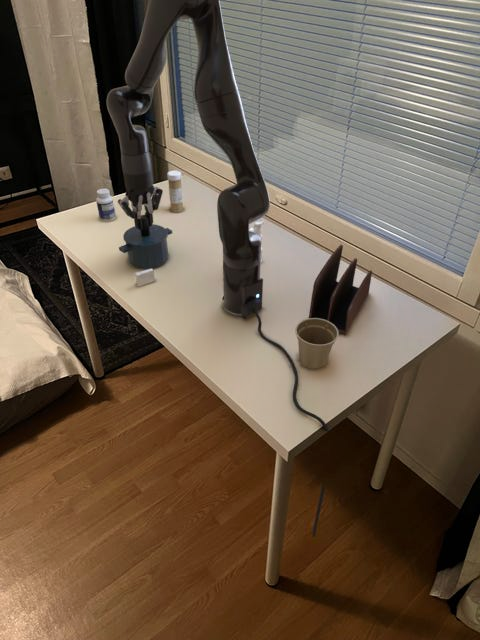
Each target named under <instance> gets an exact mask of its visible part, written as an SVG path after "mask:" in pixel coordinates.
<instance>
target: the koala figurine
mask: <svg viewBox="0 0 480 640" xmlns="http://www.w3.org/2000/svg"><path fill="white" fill-rule="evenodd" d="M264 223H265V221H264V220H260V221H255V222H254V224H253V227H249V231H251V232H254V233H256V234H257V235H258V236H259V237H260V238H261V241H262V240H263V234H262V226H263V225H264ZM261 254H263V246H262V245H261ZM261 263H263V259H261Z"/></svg>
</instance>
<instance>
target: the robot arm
mask: <svg viewBox="0 0 480 640" xmlns="http://www.w3.org/2000/svg"><path fill="white" fill-rule="evenodd" d="M186 20H191V23H192V25H193V30H194V35H195V38H196V45H197V62H196V63H197V64H196V69H195V76H194V83H193V95H194V101H195V105H196V108H197V111H198V115H199V118H200V122H201V125H202V128H203V129H204V131H205V132H206V134H207V135H208V136H209V138H210V139H211V140H212V141H213V142H214V143H215V144H216V146H217V147H218V148H219V149H220V150H221V151H222V152H223V153H224V155H225V156H226V157H227V159H228V161H229V163H230V165H231V168H232V171H233V173H234V177H235V181H236V184H234V185H231V186H229V187H227V188H226V187H225V188H224V189H223V190H221V191H220V193H219V194H218V197H217V203H216V210H217V211H216V212H217V225H218V233H219V234H218V236H219V239H220V241H221V244H222V282H223V283H222V285H223V286H222V287H223V289H222V290H223V291H222V292H223V296H222V302H223V309H224V311H225V312H226V313H227V314H229V315H231V316H232V317H236V318H237V317H239V318H243V319H248V318H250V317H251V316H253V315H255V317H256V319H257V322H258V325H257V332H258V334H259V336H260V337H261V338H262V339H263V340H265V341H266V342H268V343H269V344H271V345H273V346H275V347H276V348H278V349H280V350H281V351H282V353H283V354H284V356H285V357H286V358H287V360H288V362H289V363H290V366H291V368H292V370H293V371H292V372H293V374H294V385H293V391H292V400H293V404H294V406H295V408H296V409H297V410H298V411H299V412H301V413H303V414H305V415H307V416H308V417H310V418H313V419H314V420H317V421H318V422H319V423H320V425H322V427H323V429H324V431H325V432H329V428H328V426H327V424H326V422H325V421H324V420H323V419H322V418H321V417H319V416H318V415H316V414H315V413H313V412H311V411H308V410H306V409H304V408H303V407H302V406H301V405H300V404H299V402H298V399H297V391H298V386H299V373H298V371H297V368H296V365H295V362H294V360H293V359H292V357H291V356H290V354H289V352H287V350H286V349H285V348H284V347H283V346H282V345H281V344H279V343H277V342H276V341H273V340H271V339H269V338H268V337H266V336H265V335H264V333H263V332H262V319H261V316H260V314H259V313H258V312H260V311H261V310H262V309H263V295H264V294H263V293H264V292H263V290H264V278H262V276H261V267H262V265H261V264H262V262H261V260H262V253H261V246H262V240H261V238H260V237H259V236H258V235H257V234H256V233H254V232H251V231H249V228H250V225H251V224H252V223H255V222H258V220H260V219H262V218H264V217H265V216H266V215H267V214H268V213H269V210H270V206H271V201H270V199H271V198H270V196H269V195H270V194H269V190H268V187H267V184H266V181H265V179H264V176H263V173H262V170H261V167H260V165H259V161H258V159H257V155H256V153H255V150H254V147H253V143H252V139H251V136H250V132H249V129H248V125H247V121H246V116H245V111H244V107H243V103H242V98H241V94H240V91H239V88H238V84H237V81H236V78H235V74H234V73H235V72H234V68H233V64H232V61H231V56H230V52H229V48H228V42H227V39H226V33H225V32H226V31H225V27H224V21H223V13H222V7H221V1H220V0H149V1H148V5H147V8H146V13H145V16H144V21H143V24H142V29H141V33H140V36H139V39H138V43H137V45H136V47H135V50H134V52H133V54H132V56H131V58H130V61H129V63H128V65H127V67H126V69H125V73H124V80H125V84H126V85H123V86H120V87H116V88H113V89H110V91H109V92H108V93H107V97H106V108H107V112H108V114H109V116H110V119H111V121H112V123H113V126H114V128H115V131H116V134H117V136H118V140H119V148H120V157H121V158H120V160H121V169H122V174H123V181H124V186H125V187H124V188H125V189H126V191H125V196H124V197H123V198H122V199H121V198H120V199H119V198H118V200H117V203H118V205H119V207H120V208H121V209H122V210H123V212H124V213H125V214H126V216H127V217H129V218H131V219H132V220H133V222H134V226H135V227H136V228H138V229H139V230H143V224H142V218H141V215H142V211H143V208H144V211H145V212H144V215H147V216H148V220H149V226H152V224H154V212H155V211H158V210H159V207H160V204H161V199H162V196H163V193H164V191H163V189H162V188H160V187H157V186H154V185H153V184H154V177H153V176H154V175H153V169H152V168H153V167H152V159H151V155H150V151H149V150H150V149H149V141H148V134H147V130H146V128H145V127H144V126H142V125H140V124H133V123H132V120H131V119H132V118H135V117H137V116H138V117H139V116H141V115H143V114H146V113H147V111H148V110H149V109H150V108H151V105H152V102H153V96H154V91H155V86H156V84H157V83H158V81H159V79H160V77H161V75H162V74H163V72H164V69H165V66H166V64H167V45H166V42H167V38H168V36H169V33H170V32H171V30H172V29H173V28H174V26H175V25H176V24H177V23H178V22H179V21H186ZM130 204H131V205H130ZM325 490H326V484H324V483H321V489H320V494H319V499H318V504H317V509H316V513H315V519H314V524H313V528H312V535H311V536H312V537H313V538H315V537H316V534H317V528H318V523H319V518H320V514H321V509H322V505H323V500H324V495H325Z"/></svg>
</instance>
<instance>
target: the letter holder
mask: <svg viewBox="0 0 480 640" xmlns="http://www.w3.org/2000/svg"><path fill="white" fill-rule="evenodd" d="M343 249H344V245H343V244H339V245H338V247H337V248H336V249H335V250H334V251H333V253H332V254H331V255H330V256H329V258H328V260H327V261H326V262H325V264H324V265H323V267H322V268H321V269H320V271H319V273H318V274H317V276H316V278H315V280H314V282H313V287H312V293H311V298H310V299H311V300H310V307H309V312H308V313H309V314H308V318H319V319H324V320H327V321H329V322H331V323H332V324H333V325H335V326H336V328H337V329H338V332H339V334H340V335H344V336H346V335H347V333H348V332H349V330H350V328H351V327H352V324H353V323H354V321H355V319H356V317H357V316H358V314H359V312H360V310H361V309H362V307H363V305H364V303H365V301H366V299H367V298H368V296H369V294H370V287H371V283H372V282H371V281H372V276H373V270H371V269H369V271H368V272H367V274H366V275H365V277H364V278H363V280H362V281H361V283H360V285H359V287H357V286H354V282H355V281H354V280H355V274H356V269H357V265H358V264H357V263H358V258H357V257H355V258H353V260H352V261H351V262H350V264H349V265H348V267H347V268H346V269H345V271H344V272H343V274H342V275H341V277H340V279H339V281H337V280H338V275H339V269H340V266H341V265H340V264H341V259H342V254H343Z"/></svg>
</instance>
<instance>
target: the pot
mask: <svg viewBox="0 0 480 640" xmlns="http://www.w3.org/2000/svg"><path fill="white" fill-rule="evenodd" d="M165 229H166V230H167V232H168V236H169V235H172V234H173V229H170V228H169V227H165ZM118 250H119V252H121V253H122V254H126V253H127V259H128V263H129V265H131V267H133V268H135V269H140V270H148V269H151V268H152V269H153V270H154V269H157V268H160V267H162V266H164V265H165V264H167V262H168V260H169V246H168V238H167V239H166V240H165V241H163V242H162V243H160V244H158V245H155V246H150V247H135V246H131V245H129V244H127V243H126V242H125V244H124V245H121V246H119V247H118Z"/></svg>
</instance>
